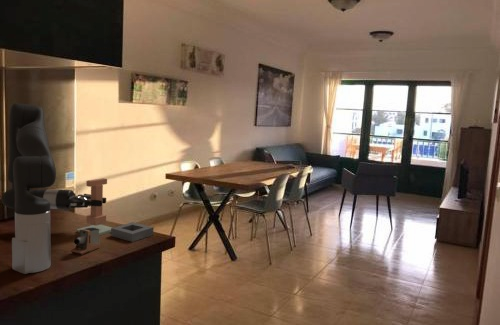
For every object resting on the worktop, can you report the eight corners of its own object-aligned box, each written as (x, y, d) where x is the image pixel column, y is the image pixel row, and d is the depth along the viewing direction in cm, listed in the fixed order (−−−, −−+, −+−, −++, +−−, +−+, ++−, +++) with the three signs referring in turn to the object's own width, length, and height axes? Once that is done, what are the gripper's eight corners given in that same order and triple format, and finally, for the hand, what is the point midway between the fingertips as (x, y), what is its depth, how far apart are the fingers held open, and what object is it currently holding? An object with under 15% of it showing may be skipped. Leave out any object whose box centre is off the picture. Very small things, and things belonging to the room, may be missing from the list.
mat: (94, 237, 153) (94, 234, 153) (76, 231, 158) (76, 229, 158) (115, 230, 162) (115, 228, 162) (97, 226, 166) (97, 223, 166)
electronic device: (69, 254, 135) (70, 232, 134) (90, 246, 144) (90, 225, 143) (81, 256, 133) (81, 234, 132) (100, 248, 142) (101, 226, 142)
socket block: (132, 241, 150) (132, 233, 150) (110, 236, 155) (111, 228, 155) (153, 234, 160) (153, 227, 159) (132, 229, 165) (132, 222, 164)
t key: (92, 226, 155) (92, 182, 152) (83, 224, 157) (83, 180, 155) (109, 222, 162) (109, 179, 159) (100, 219, 164) (100, 177, 162)
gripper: (50, 193, 150) (97, 196, 151) (67, 186, 165) (110, 188, 165) (50, 213, 151) (97, 216, 152) (66, 204, 166) (109, 207, 166)
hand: (103, 201), depth 158 cm, fingers closed on t key, 4 cm apart
